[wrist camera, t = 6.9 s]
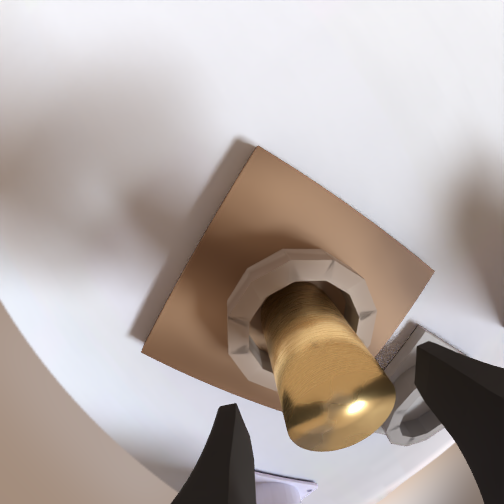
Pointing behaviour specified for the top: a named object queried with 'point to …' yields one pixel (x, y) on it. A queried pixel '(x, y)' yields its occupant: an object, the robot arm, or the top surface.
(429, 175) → the top surface
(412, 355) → the spline stand
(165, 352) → the hub board
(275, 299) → the brass peg
